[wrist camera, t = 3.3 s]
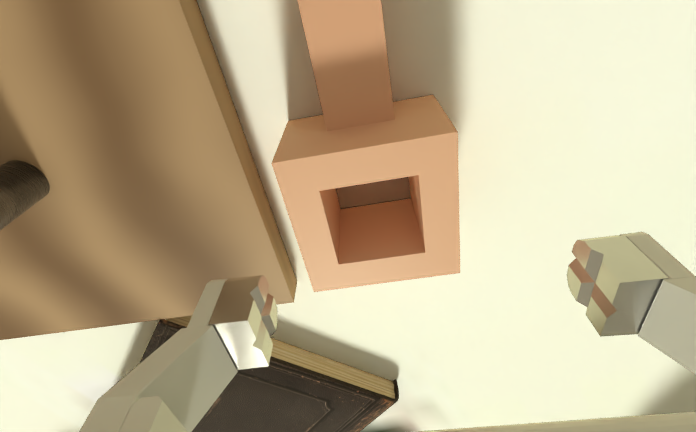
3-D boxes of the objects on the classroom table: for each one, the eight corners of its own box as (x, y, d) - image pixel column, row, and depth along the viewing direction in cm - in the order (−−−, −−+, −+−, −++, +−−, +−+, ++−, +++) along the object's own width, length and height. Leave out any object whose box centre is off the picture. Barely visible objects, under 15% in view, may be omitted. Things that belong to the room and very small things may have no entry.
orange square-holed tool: (420, -141, 11) (451, -188, 8) (439, 216, 18) (460, 272, 15) (227, -94, 12) (179, -118, 8) (320, 234, 19) (314, 292, 15)
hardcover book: (101, 449, 33) (86, 479, 31) (174, 291, 22) (158, 323, 20) (266, 488, 38) (262, 516, 36) (397, 373, 26) (400, 405, 24)
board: (98, -274, 10) (60, -309, 8) (296, 281, 21) (293, 302, 19) (-485, -93, 12) (-586, -100, 10) (-20, 324, 23) (-42, 345, 21)
